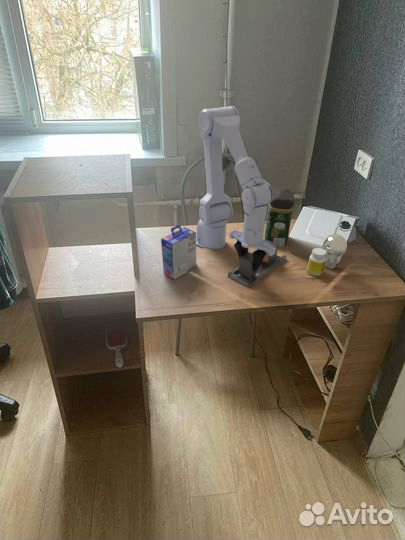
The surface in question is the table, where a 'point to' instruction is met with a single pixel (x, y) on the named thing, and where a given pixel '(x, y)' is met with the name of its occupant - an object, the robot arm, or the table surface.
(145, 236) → the table surface
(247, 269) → the grey square block
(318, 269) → the supplement bottle
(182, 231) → the ink cartridge box
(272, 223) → the coffee jar
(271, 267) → the rail
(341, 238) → the light bulb
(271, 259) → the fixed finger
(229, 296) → the table surface
